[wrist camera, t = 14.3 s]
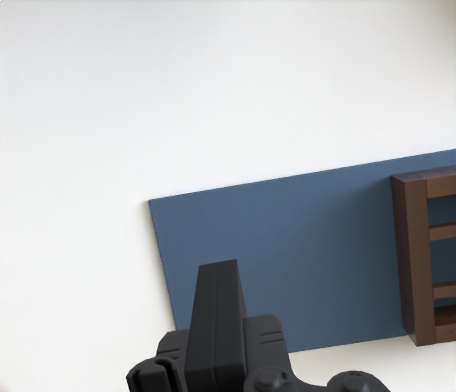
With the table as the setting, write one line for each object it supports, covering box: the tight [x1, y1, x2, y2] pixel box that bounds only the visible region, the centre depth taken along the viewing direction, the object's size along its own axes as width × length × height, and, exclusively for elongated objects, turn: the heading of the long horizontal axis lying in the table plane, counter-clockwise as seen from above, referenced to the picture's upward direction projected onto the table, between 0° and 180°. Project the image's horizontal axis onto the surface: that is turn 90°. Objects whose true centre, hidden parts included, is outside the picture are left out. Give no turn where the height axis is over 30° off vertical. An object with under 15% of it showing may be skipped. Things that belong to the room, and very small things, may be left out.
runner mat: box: [149, 149, 456, 353], centre depth 38 cm, size 34×16×1 cm, turn 100°
